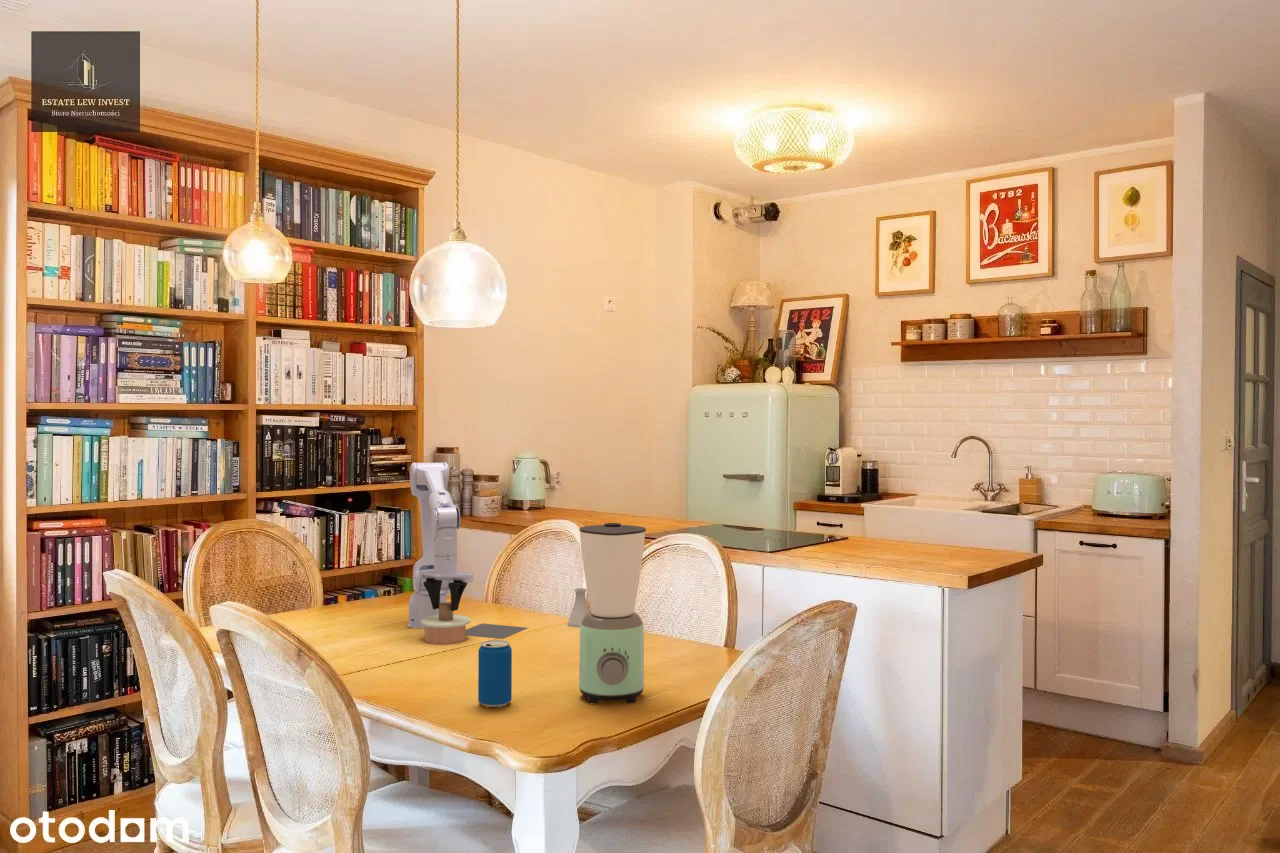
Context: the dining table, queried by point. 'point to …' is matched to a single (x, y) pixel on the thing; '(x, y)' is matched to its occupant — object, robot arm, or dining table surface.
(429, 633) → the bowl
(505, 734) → the dining table surface
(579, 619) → the flask
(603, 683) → the green blender
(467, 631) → the mat
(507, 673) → the beverage can
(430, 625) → the lid
